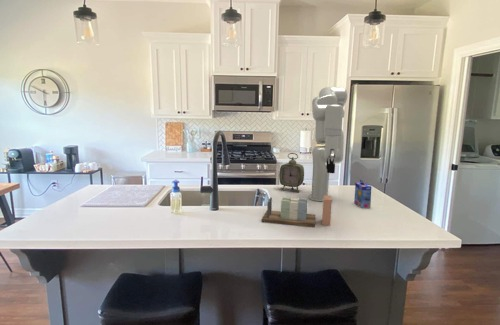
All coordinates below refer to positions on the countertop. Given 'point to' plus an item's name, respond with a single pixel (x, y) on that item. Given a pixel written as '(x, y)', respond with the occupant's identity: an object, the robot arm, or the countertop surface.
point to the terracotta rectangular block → (326, 210)
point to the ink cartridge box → (362, 194)
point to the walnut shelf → (288, 221)
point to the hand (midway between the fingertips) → (330, 171)
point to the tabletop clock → (291, 174)
